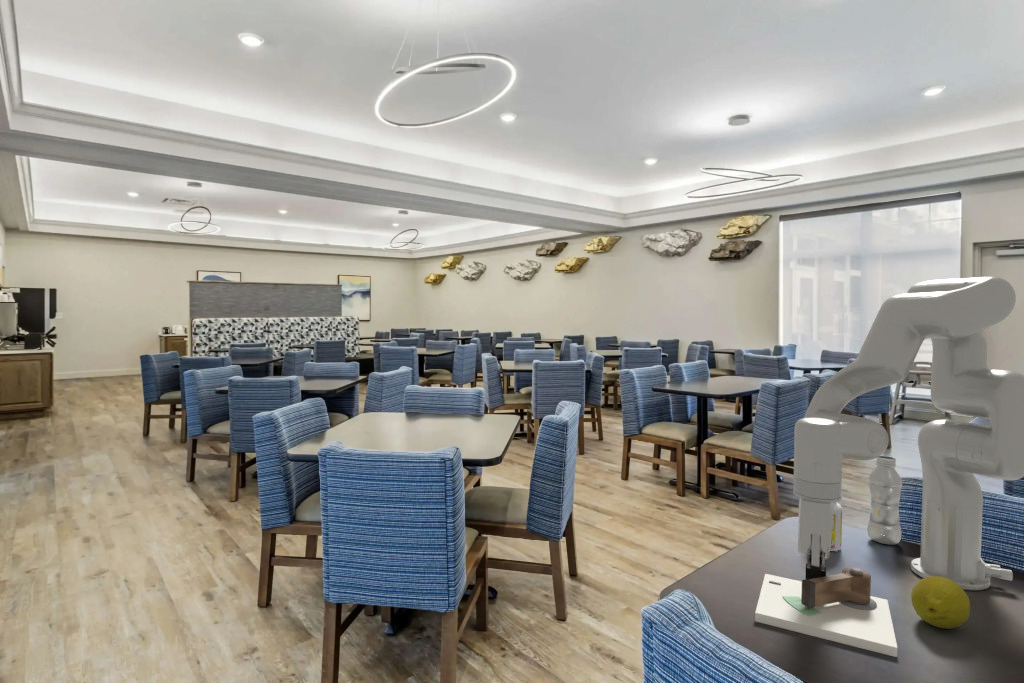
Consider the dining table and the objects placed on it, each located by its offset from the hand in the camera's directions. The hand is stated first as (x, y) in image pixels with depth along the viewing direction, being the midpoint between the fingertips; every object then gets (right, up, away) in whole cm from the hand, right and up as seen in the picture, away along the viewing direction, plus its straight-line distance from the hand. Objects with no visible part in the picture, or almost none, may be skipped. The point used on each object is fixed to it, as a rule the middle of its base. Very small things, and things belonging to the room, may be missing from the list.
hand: (815, 588), depth 99 cm
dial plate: (0, -3, -3) cm, 4 cm away
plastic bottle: (+32, -3, +29) cm, 44 cm away
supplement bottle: (+17, -3, +27) cm, 32 cm away
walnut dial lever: (+2, -1, -2) cm, 3 cm away
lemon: (+17, -4, -6) cm, 19 cm away
